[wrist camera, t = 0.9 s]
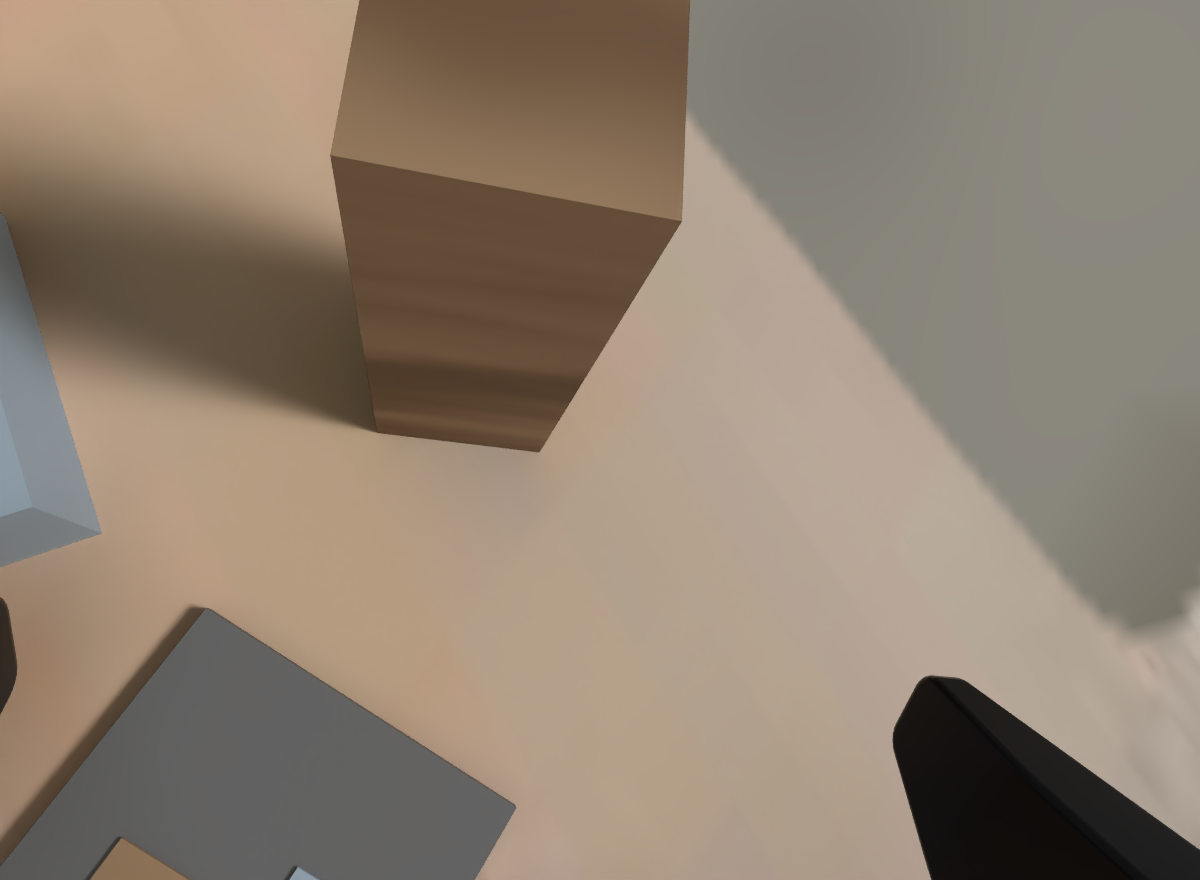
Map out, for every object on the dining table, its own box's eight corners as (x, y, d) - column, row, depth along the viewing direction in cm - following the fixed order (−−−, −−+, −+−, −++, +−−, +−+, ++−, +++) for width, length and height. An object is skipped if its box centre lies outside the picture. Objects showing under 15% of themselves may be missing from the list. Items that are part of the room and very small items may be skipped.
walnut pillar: (539, 452, 22) (681, 221, 10) (376, 432, 21) (330, 155, 9) (551, 308, 23) (692, -43, 12) (399, 284, 22) (382, -123, 11)
